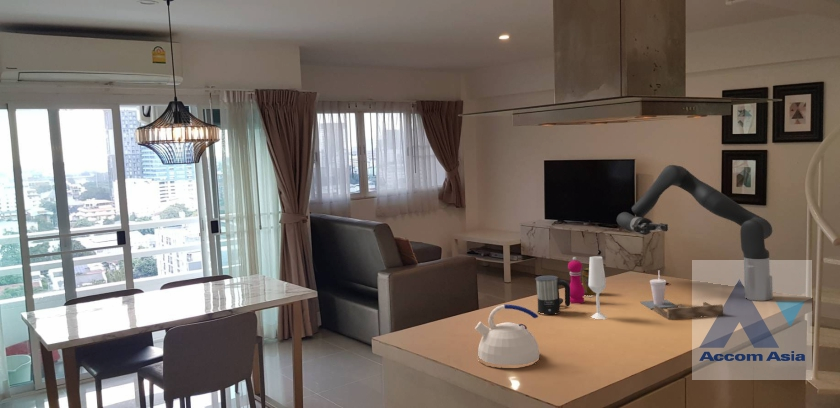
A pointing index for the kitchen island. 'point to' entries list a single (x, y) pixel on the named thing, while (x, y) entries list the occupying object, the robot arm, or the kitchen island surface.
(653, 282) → the smoothie
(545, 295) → the milk frother
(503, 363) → the kettle
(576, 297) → the pepper mill
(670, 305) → the slate mat
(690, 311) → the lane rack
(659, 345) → the kitchen island surface
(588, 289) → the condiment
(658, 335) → the kitchen island surface
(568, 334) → the kitchen island surface
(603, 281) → the champagne flute
